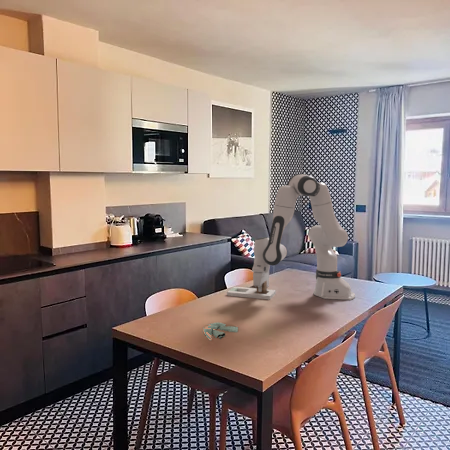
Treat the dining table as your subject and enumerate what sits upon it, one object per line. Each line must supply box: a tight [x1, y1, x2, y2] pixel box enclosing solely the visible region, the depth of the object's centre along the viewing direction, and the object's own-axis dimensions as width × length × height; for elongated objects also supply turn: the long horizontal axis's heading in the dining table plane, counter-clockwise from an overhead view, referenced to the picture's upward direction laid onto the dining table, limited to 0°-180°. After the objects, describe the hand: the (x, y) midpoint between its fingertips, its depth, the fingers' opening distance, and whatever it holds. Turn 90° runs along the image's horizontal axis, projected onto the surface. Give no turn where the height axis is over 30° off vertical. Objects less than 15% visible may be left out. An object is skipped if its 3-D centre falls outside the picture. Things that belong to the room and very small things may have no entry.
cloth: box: [203, 322, 239, 340], centre depth 180 cm, size 20×22×2 cm
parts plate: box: [226, 286, 277, 301], centre depth 239 cm, size 25×13×2 cm, turn 69°
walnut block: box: [256, 281, 268, 294], centre depth 236 cm, size 4×4×8 cm
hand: (261, 290), depth 236 cm, fingers closed on walnut block, 4 cm apart
